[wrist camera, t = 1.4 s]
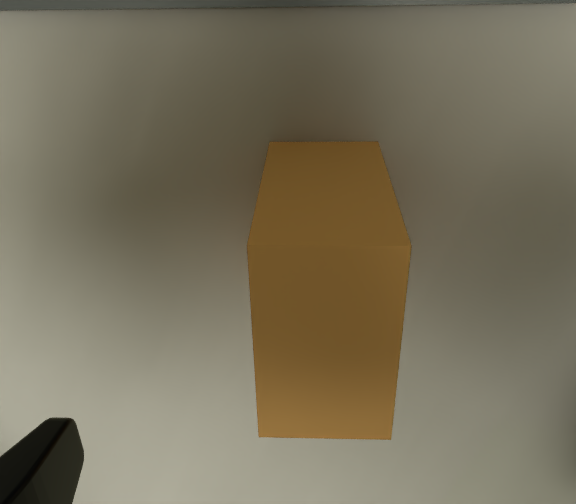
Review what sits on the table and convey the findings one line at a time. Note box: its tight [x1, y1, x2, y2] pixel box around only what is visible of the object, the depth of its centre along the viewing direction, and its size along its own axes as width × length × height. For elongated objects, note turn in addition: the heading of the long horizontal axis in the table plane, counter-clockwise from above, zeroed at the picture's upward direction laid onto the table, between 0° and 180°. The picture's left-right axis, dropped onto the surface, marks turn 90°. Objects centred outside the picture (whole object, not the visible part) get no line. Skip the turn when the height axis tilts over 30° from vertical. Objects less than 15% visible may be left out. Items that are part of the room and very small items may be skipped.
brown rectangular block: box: [247, 142, 411, 440], centre depth 14 cm, size 3×5×6 cm, turn 1°
